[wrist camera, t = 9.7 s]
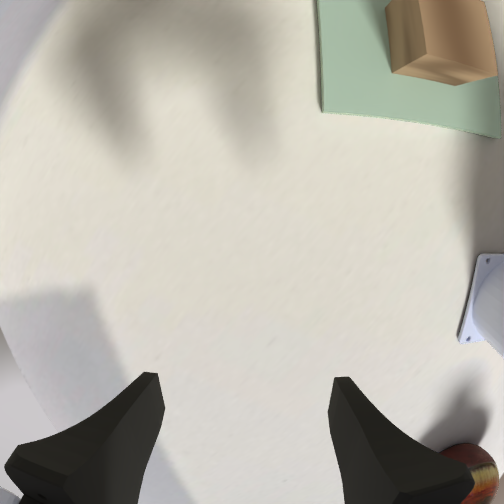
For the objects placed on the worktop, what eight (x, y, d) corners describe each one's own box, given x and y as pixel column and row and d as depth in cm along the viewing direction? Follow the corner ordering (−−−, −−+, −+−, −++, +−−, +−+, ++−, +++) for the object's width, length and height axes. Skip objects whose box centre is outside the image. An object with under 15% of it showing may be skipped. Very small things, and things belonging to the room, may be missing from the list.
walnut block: (447, 23, 15) (484, 2, 10) (455, 86, 16) (497, 75, 12) (384, 8, 15) (413, -24, 10) (391, 73, 17) (426, 53, 12)
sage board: (480, 12, 15) (486, 9, 14) (495, 138, 18) (501, 138, 17) (313, -29, 15) (315, -35, 14) (321, 112, 18) (324, 111, 18)
